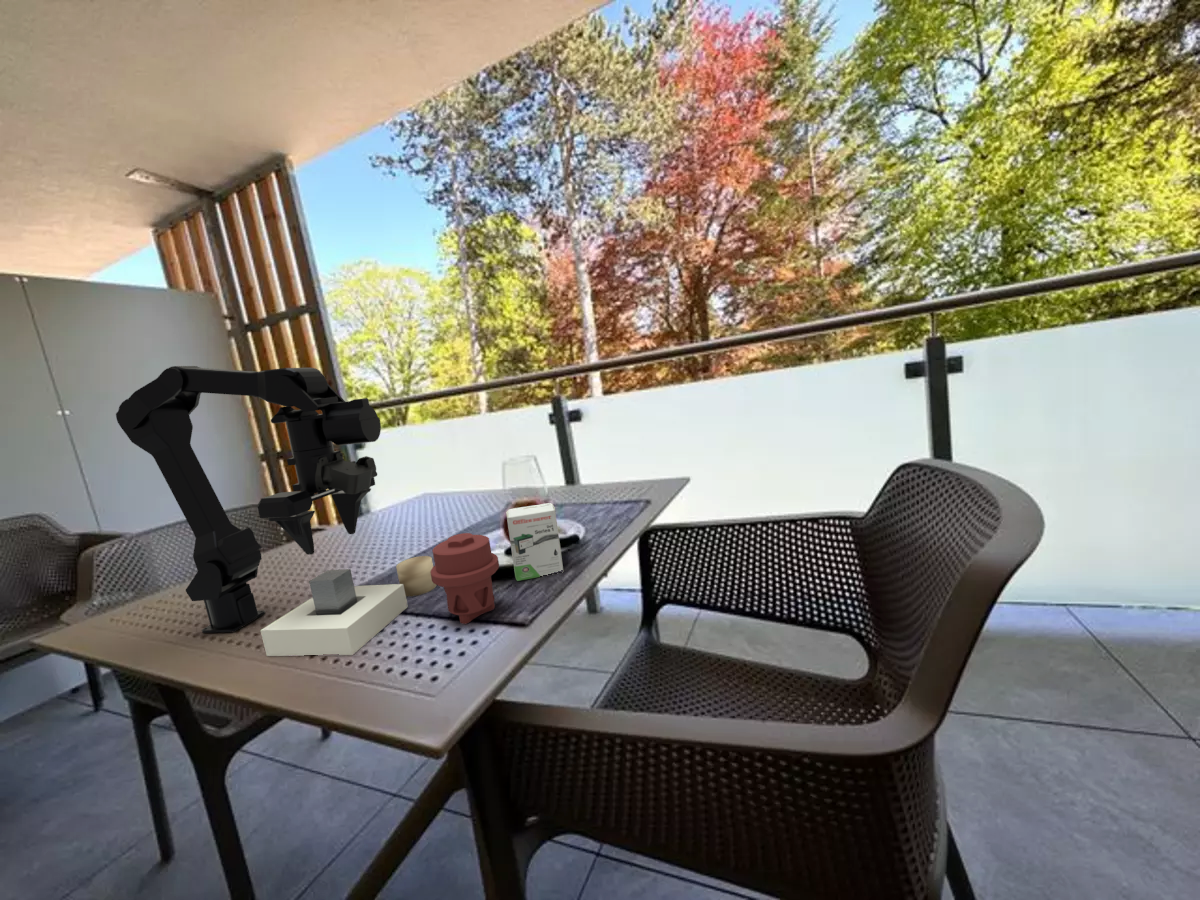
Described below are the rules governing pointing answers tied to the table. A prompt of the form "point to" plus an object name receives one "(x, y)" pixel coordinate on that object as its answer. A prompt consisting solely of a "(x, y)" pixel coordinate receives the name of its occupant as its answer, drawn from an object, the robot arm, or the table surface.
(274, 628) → the socket block
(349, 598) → the square bar
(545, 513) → the ink box
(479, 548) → the mechanical component
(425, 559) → the beige rounded lump
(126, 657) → the table surface
